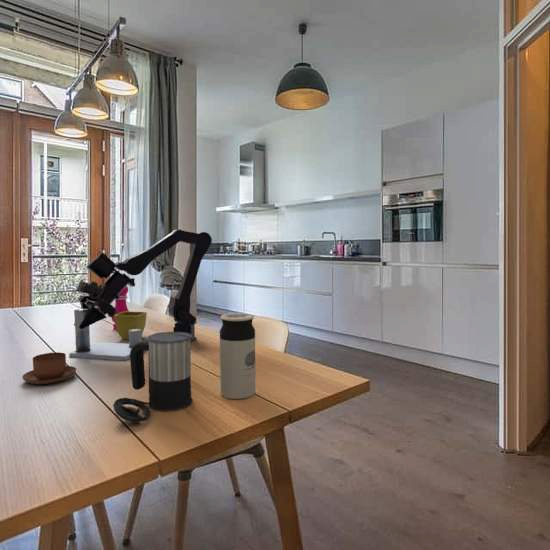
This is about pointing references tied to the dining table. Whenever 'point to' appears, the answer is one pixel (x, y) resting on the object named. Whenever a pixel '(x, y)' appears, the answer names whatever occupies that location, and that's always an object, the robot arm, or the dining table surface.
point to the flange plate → (111, 348)
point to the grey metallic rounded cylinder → (81, 331)
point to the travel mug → (237, 356)
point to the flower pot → (129, 322)
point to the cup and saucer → (49, 369)
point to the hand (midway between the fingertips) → (77, 327)
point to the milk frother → (159, 375)
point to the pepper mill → (121, 304)
